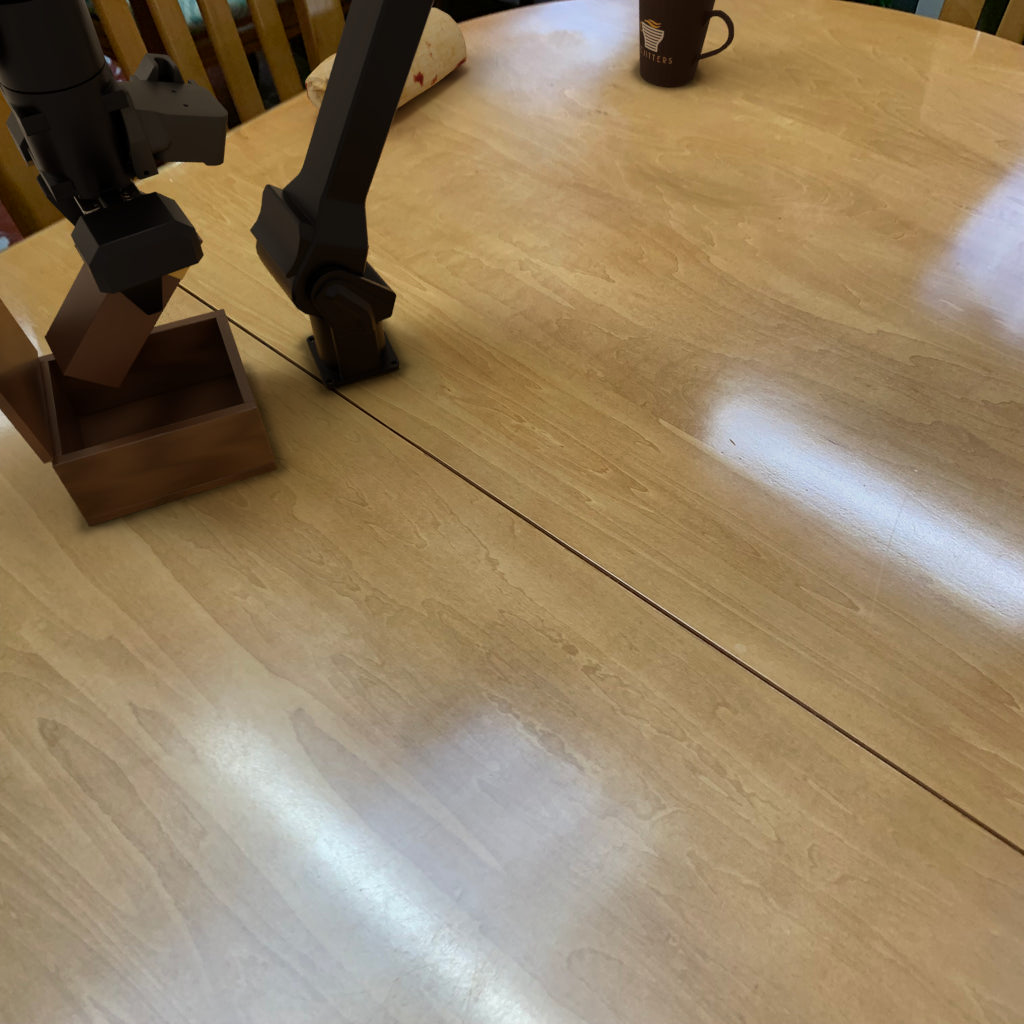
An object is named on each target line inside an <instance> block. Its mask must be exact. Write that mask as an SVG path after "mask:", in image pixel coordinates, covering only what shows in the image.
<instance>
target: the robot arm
mask: <svg viewBox="0 0 1024 1024" xmlns="http://www.w3.org/2000/svg"><path fill="white" fill-rule="evenodd" d="M434 3H435V0H351V3H350V5H349V9H348V12H347V16H346V19H345V22H344V26H343V28H342V32H341V36H340V40H339V42H338V46H337V50H336V52H337V53H336V52H335V53H336V56H335V59H334V63H333V66H332V70H331V73H330V76H329V80H328V83H327V86H326V90H325V93H324V96H323V100H322V103H321V107H320V110H318V114H317V117H316V120H315V123H314V128H313V131H312V134H311V137H310V141H309V144H308V147H307V149H306V150H307V151H306V154H305V158H304V161H303V164H302V167H301V169H300V171H299V173H298V174H297V175H296V176H295V177H294V178H293V179H292V180H291V181H290V182H289V183H287V184H286V185H285V186H284V187H283V188H281V187H278V186H275V185H273V184H270V183H268V184H266V185H265V186H264V188H263V190H262V194H261V195H262V196H261V205H260V210H259V214H258V216H257V218H256V220H255V222H254V224H253V225H252V227H251V228H250V229H249V232H250V233H251V235H252V236H253V237H254V239H256V240H255V250H256V255H257V256H258V258H259V261H260V262H261V263H262V265H263V266H264V267H265V269H266V270H267V271H268V273H269V274H270V275H271V277H272V278H273V279H274V281H275V282H276V283H277V284H278V286H279V287H280V288H281V290H282V292H284V294H285V295H286V296H287V297H288V299H289V300H290V301H291V303H292V304H293V305H294V307H295V308H296V309H297V310H298V311H299V312H301V313H303V314H304V315H308V318H309V321H310V326H311V330H312V335H309V336H308V337H307V338H306V339H305V340H306V344H307V347H308V349H309V352H310V354H311V357H312V359H313V362H314V365H315V366H316V369H317V371H318V374H319V376H320V379H321V381H322V383H323V387H324V388H325V389H327V390H333V389H336V388H339V387H343V386H347V385H350V384H353V383H357V382H360V381H363V380H368V379H371V378H374V377H377V376H382V375H384V374H388V373H392V372H395V371H397V370H399V369H400V367H401V363H400V359H399V358H398V356H397V354H396V352H395V349H394V347H393V346H392V343H391V341H390V340H389V337H388V336H387V333H386V331H385V330H384V325H383V324H384V323H383V321H385V320H387V319H390V318H391V317H392V316H393V313H394V309H395V305H396V300H397V294H396V292H395V290H393V289H392V288H391V286H390V285H389V284H388V282H386V281H385V280H384V278H383V277H382V276H381V275H380V274H379V273H378V272H377V270H376V269H375V268H374V267H373V266H372V265H371V263H370V262H368V255H369V250H370V246H369V233H368V232H369V231H368V222H367V221H368V219H367V208H366V207H367V206H366V204H367V198H368V195H369V192H370V189H371V186H372V183H373V180H374V178H375V175H376V171H377V168H378V166H379V162H380V159H381V157H382V154H383V150H384V148H385V145H386V142H387V139H388V137H389V133H390V131H391V128H392V125H393V122H394V119H395V116H396V113H397V111H398V108H397V107H398V104H399V101H400V99H401V96H402V93H403V90H404V87H405V84H406V81H407V78H408V75H409V72H410V69H411V66H412V64H413V61H414V58H415V55H416V52H417V49H418V46H419V43H420V40H421V37H422V34H423V31H424V29H425V26H426V23H427V20H428V17H429V14H430V11H431V8H433V5H434ZM0 92H1V94H2V96H3V98H4V100H5V102H6V104H7V105H8V107H9V109H10V110H11V111H10V113H9V116H8V117H7V120H6V121H5V124H6V127H7V129H8V131H9V133H10V135H11V138H12V140H13V142H14V144H15V147H16V148H17V150H18V153H20V155H21V157H22V159H23V161H24V162H25V164H26V166H27V168H30V167H35V168H36V169H37V171H38V172H39V174H37V176H36V177H35V179H36V182H37V184H38V185H39V187H40V189H41V191H42V192H43V194H44V196H45V197H46V199H47V200H48V201H49V202H50V203H51V204H52V205H53V206H54V207H55V208H56V210H57V211H59V213H60V214H61V215H62V216H63V217H64V218H65V219H66V220H68V222H70V223H71V225H72V226H73V230H72V231H71V233H70V236H71V239H72V241H73V243H74V248H75V250H76V251H77V253H78V255H79V257H80V259H81V260H82V262H83V264H85V266H86V268H87V270H88V272H89V273H90V275H91V277H92V278H93V280H94V282H95V284H96V285H97V287H98V289H99V291H100V292H102V293H109V294H115V293H118V292H121V293H122V294H123V295H124V296H126V297H127V298H128V299H129V300H130V301H131V302H133V303H134V304H135V305H136V306H137V307H138V308H140V309H141V310H142V311H143V312H144V313H146V314H147V315H152V314H155V313H157V312H160V311H162V309H163V292H162V276H165V275H167V274H170V273H173V272H176V271H179V270H181V269H184V268H187V267H189V268H190V267H192V266H195V265H198V264H199V263H200V261H201V260H202V259H203V257H204V251H203V248H202V244H201V245H200V242H199V239H198V235H199V234H198V235H197V233H198V232H197V229H196V228H195V225H193V223H192V222H191V220H190V219H189V218H188V216H187V215H186V214H185V212H184V211H183V209H182V208H181V207H180V206H179V204H178V203H177V201H176V199H174V198H171V197H169V196H167V195H164V194H162V193H160V192H158V191H152V192H144V193H145V194H143V193H141V192H140V191H141V190H140V188H138V186H137V184H136V183H135V182H134V180H135V178H136V179H137V180H139V181H141V180H145V179H148V178H151V177H154V176H157V175H160V171H159V170H158V167H157V164H156V161H159V162H162V163H163V162H165V163H199V164H200V163H201V164H202V163H203V164H204V165H205V166H207V167H218V166H221V165H223V164H224V162H225V154H226V141H227V131H228V120H229V112H228V110H227V109H226V108H225V107H224V106H223V105H222V103H221V102H219V100H218V99H217V98H216V97H215V95H214V94H213V93H212V92H211V91H210V90H209V89H207V88H206V87H204V86H201V85H199V84H198V82H197V81H196V80H195V79H189V78H188V79H187V83H186V82H185V80H184V78H183V76H182V72H181V71H180V69H179V67H178V65H177V64H176V63H175V62H174V61H173V59H172V58H171V57H170V56H169V55H167V54H160V53H149V52H146V53H145V54H144V56H143V57H142V59H141V60H140V63H139V64H138V66H137V68H136V70H135V71H134V74H129V80H128V81H119V80H116V79H115V76H114V73H113V71H112V67H110V65H109V64H108V62H107V59H106V56H105V54H104V51H103V47H102V45H101V42H100V39H99V37H98V34H97V31H96V28H95V25H94V23H93V20H92V17H91V14H90V11H89V8H88V6H87V3H86V0H0ZM139 190H140V191H139ZM120 194H121V195H122V196H123V198H124V199H125V201H124V199H123V198H122V196H121V195H120Z"/></svg>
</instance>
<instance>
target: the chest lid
mask: <svg viewBox="0 0 1024 1024" xmlns="http://www.w3.org/2000/svg"><path fill="white" fill-rule="evenodd" d="M39 357H40V356H39V351H38V349H37V348H36V347H35V345H34V344H33V342H32V341H31V340H30V338H29V336H28V335H27V333H26V332H25V331H24V330H23V328H22V326H21V325H20V324H19V323H18V321H17V319H15V316H14V315H13V314H12V313H11V311H10V310H9V308H8V307H7V305H6V304H5V302H4V301H3V300H2V298H1V297H0V411H1V412H2V414H3V415H4V416H5V417H6V419H7V420H8V421H9V422H10V424H11V425H12V426H13V427H14V429H15V430H16V431H17V432H18V434H19V435H20V436H21V438H22V439H23V440H24V441H25V443H26V444H27V445H28V446H29V447H30V448H31V450H32V451H33V452H34V454H35V455H36V456H37V457H38V458H39V459H40V461H41V462H42V463H43V464H47V463H50V462H51V461H53V460H54V459H53V452H52V445H51V438H50V431H49V425H48V418H47V411H46V404H45V397H44V391H43V384H42V377H41V370H40V363H39Z"/></svg>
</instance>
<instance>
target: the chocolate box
mask: <svg viewBox="0 0 1024 1024" xmlns="http://www.w3.org/2000/svg"><path fill="white" fill-rule="evenodd" d="M139 191H140V192H141V193H143V194H145V193H146V192H144V191H143V190H140V189H139ZM120 195H121V194H120ZM121 196H122V195H121ZM122 198H123V196H122ZM123 199H124V198H123ZM124 201H125V199H124ZM197 235H198V239H199V242H200V245H201V246H202V244H203V242H204V240H203V239H202V238H201V235H199V233H198V232H197ZM189 269H190V267H187V268H184V269H181V270H179V271H176V272H173V273H170V274H167V275H165V276H162V292H163V309H162V311H160V312H157V313H155V314H152V315H147V314H146V313H144V312H143V311H142V310H141V309H140V308H138V307H137V306H136V305H135V304H134V303H133V302H131V301H130V300H129V299H128V298H127V297H126V296H124V295H123V294H122V293H121V292H118V293H115V294H109V293H102V292H100V291H99V289H98V287H97V285H96V284H95V282H94V280H93V278H92V277H91V275H90V273H89V272H88V270H87V268H86V266H85V264H84V263H82V266H81V268H80V270H79V271H78V273H77V275H76V277H75V279H74V281H73V283H72V285H71V286H70V288H69V290H68V292H67V294H66V296H65V297H64V299H63V300H62V301H63V302H62V303H61V305H60V307H59V309H58V311H57V313H56V315H55V317H54V318H53V321H52V323H51V324H50V326H49V328H48V330H47V332H46V334H45V335H44V339H45V342H46V343H47V345H48V347H49V349H50V351H51V354H52V353H53V356H54V358H55V360H56V362H57V364H58V366H59V368H60V370H61V372H62V374H63V375H65V376H69V377H73V378H77V379H81V380H85V381H89V382H93V383H98V384H102V385H106V386H110V387H114V388H119V387H120V385H121V383H122V382H123V380H124V378H125V376H126V375H127V373H128V371H129V369H130V368H131V366H132V364H133V362H134V361H135V359H136V357H137V355H138V354H139V352H140V350H141V348H142V347H143V345H144V343H145V342H146V340H147V338H148V336H149V335H150V333H151V331H152V329H153V328H154V327H155V326H156V324H157V322H158V321H159V319H160V317H161V315H162V314H163V312H164V310H165V309H166V307H167V306H168V303H169V302H170V300H171V299H172V296H173V294H174V293H175V292H176V289H177V288H178V286H179V284H180V282H181V281H182V280H183V279H184V278H185V276H186V274H187V273H188V271H189Z"/></svg>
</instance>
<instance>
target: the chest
mask: <svg viewBox="0 0 1024 1024" xmlns="http://www.w3.org/2000/svg"><path fill="white" fill-rule="evenodd" d="M38 357H39V363H40V370H41V377H42V384H43V391H44V397H45V404H46V411H47V418H48V425H49V431H50V438H51V445H52V452H53V459H54V460H53V461H50V462H51V463H50V464H51V467H52V469H53V471H54V472H55V474H56V475H57V477H58V478H59V480H60V481H61V483H62V486H64V488H65V490H66V491H67V493H68V494H69V496H70V498H71V499H72V501H73V503H74V505H76V508H77V509H78V510H79V512H80V514H81V515H82V517H83V518H84V521H85V522H86V524H87V525H88V527H91V526H94V525H98V524H101V523H104V522H108V521H110V520H113V519H118V518H121V517H125V516H127V515H130V514H133V513H136V512H141V511H143V510H146V509H150V508H153V507H156V506H160V505H163V504H167V503H170V502H173V501H176V500H179V499H183V498H187V497H190V496H192V495H196V494H199V493H202V492H206V491H209V490H212V489H216V488H218V487H222V486H226V485H229V484H232V483H235V482H239V481H242V480H246V479H249V478H251V477H256V476H259V475H262V474H265V473H269V472H271V471H274V470H278V465H277V462H276V459H275V456H274V453H273V450H272V446H271V443H270V441H269V437H268V435H267V432H266V429H265V425H264V423H263V422H264V421H263V419H262V416H261V414H260V413H261V412H260V410H259V408H258V403H257V402H256V399H255V395H254V393H253V390H252V388H251V384H250V380H249V377H248V376H247V372H246V370H245V366H244V363H243V361H242V357H241V354H240V352H239V349H238V346H237V342H236V340H235V337H234V333H233V330H232V328H231V325H230V321H229V319H228V317H227V313H226V311H225V309H224V308H220V309H217V310H213V311H209V312H204V313H201V314H198V315H194V316H189V317H186V318H182V319H177V320H175V321H171V322H167V323H163V324H159V325H155V326H154V328H153V329H152V331H151V333H150V335H149V336H148V338H147V340H146V342H145V343H144V345H143V347H142V348H141V350H140V352H139V354H138V355H137V357H136V359H135V361H134V362H133V364H132V366H131V368H130V369H129V371H128V373H127V375H126V376H125V378H124V380H123V382H122V383H121V385H120V387H119V388H114V387H110V386H106V385H102V384H98V383H93V382H89V381H85V380H81V379H77V378H73V377H69V376H65V375H63V374H62V372H61V370H60V368H59V366H58V364H57V362H56V360H55V358H54V356H53V353H52V352H51V353H48V354H44V355H40V356H38Z"/></svg>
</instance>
